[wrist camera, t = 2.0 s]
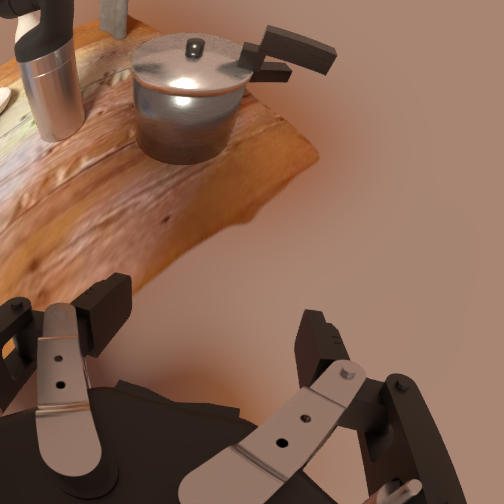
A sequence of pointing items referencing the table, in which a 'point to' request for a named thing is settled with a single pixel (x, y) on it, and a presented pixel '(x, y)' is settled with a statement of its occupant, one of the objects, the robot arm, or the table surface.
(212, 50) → the pressure cooker lid
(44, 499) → the robot arm
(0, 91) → the spoon rest
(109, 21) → the hip flask
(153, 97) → the pressure cooker pot
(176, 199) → the table surface
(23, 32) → the milk bottle
